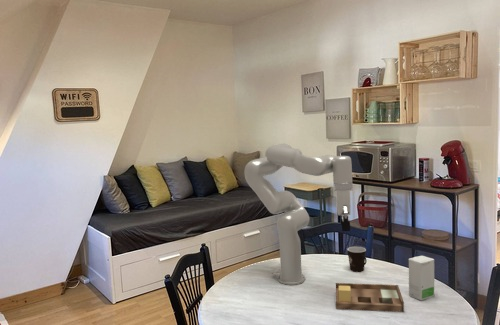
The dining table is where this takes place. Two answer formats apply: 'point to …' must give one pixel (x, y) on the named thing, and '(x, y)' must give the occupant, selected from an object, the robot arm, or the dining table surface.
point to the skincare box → (421, 277)
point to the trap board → (372, 297)
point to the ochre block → (344, 293)
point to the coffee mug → (357, 258)
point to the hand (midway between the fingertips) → (345, 227)
